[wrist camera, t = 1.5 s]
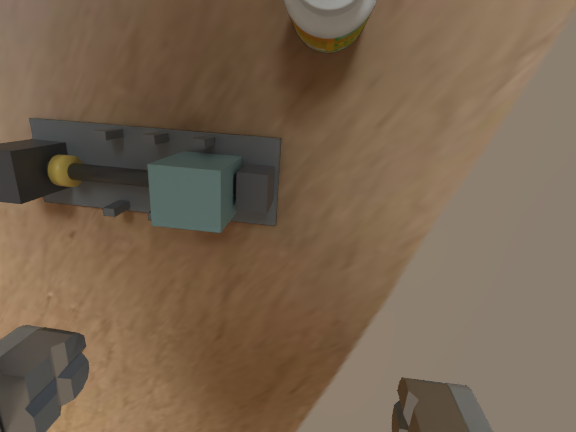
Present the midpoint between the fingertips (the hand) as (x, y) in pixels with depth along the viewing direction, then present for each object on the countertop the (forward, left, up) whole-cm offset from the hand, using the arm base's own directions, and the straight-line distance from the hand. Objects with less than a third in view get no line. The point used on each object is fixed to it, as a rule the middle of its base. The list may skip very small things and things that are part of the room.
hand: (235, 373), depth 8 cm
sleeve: (0, -7, -20) cm, 22 cm away
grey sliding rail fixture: (0, -13, -21) cm, 25 cm away
